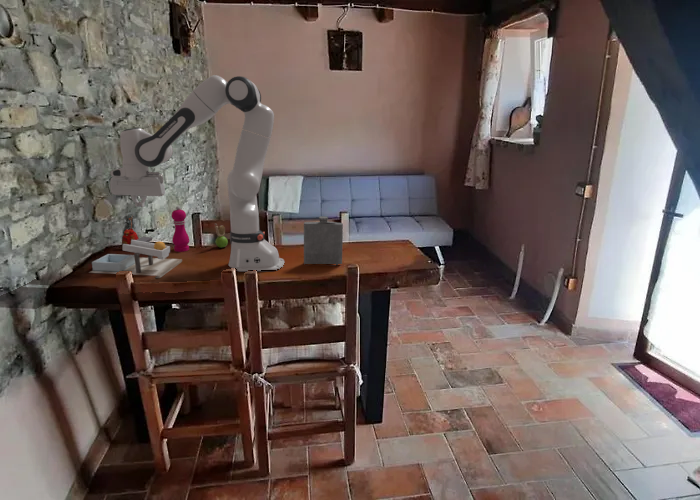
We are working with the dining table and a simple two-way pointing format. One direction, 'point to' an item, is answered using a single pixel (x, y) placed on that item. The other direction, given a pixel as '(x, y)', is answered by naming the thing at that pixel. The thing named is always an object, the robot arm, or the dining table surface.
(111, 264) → the grey open tray
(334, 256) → the hip flask
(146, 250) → the lever
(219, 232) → the snail figurine
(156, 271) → the base board
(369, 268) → the dining table surface
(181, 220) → the pepper mill
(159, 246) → the ball
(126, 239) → the red clay folk toy
